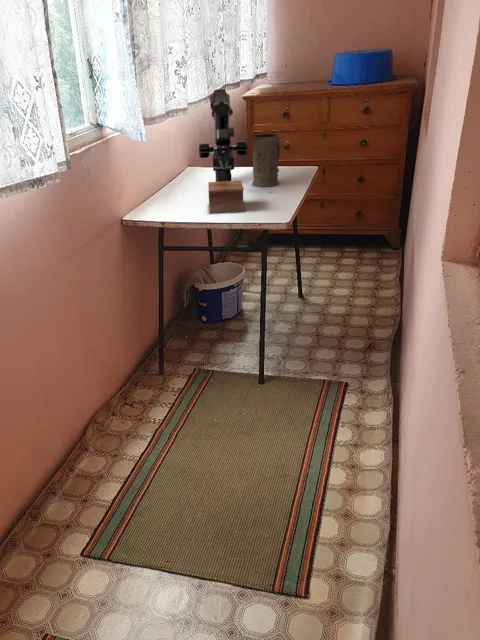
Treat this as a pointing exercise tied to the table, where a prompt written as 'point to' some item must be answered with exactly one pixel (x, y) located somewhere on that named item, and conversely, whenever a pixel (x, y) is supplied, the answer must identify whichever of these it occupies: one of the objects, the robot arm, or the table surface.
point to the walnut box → (226, 202)
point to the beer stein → (266, 160)
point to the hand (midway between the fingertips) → (224, 168)
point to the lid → (225, 186)
